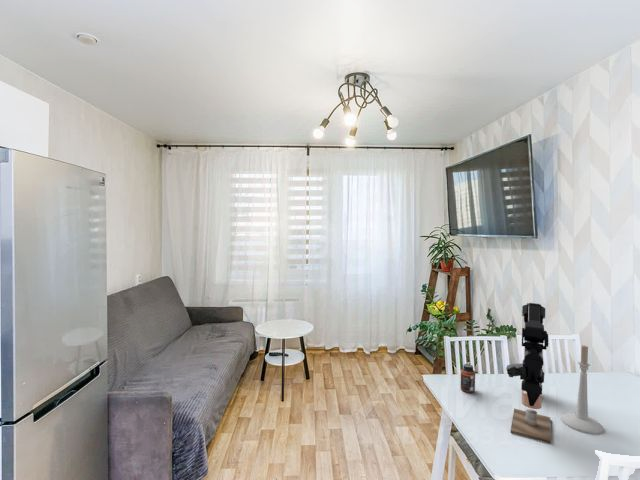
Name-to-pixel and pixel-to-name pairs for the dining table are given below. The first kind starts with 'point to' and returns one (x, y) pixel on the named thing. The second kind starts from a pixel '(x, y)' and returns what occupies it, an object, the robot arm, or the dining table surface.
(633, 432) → the dining table surface
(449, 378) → the dining table surface
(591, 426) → the candlestick
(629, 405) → the dining table surface
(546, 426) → the post board
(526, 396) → the cap
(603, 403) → the dining table surface
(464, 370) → the supplement bottle
